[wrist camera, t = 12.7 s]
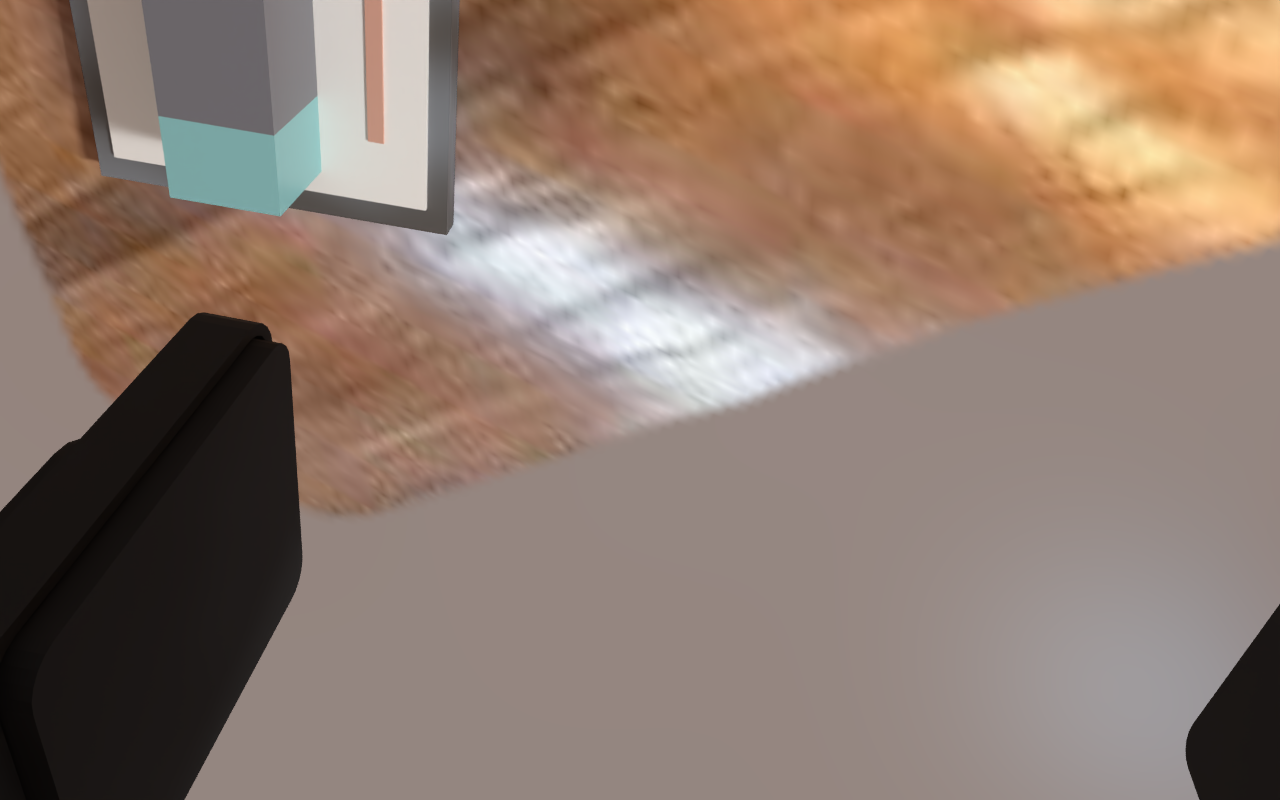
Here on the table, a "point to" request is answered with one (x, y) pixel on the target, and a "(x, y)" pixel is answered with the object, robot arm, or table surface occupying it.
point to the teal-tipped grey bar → (236, 99)
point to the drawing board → (347, 105)
